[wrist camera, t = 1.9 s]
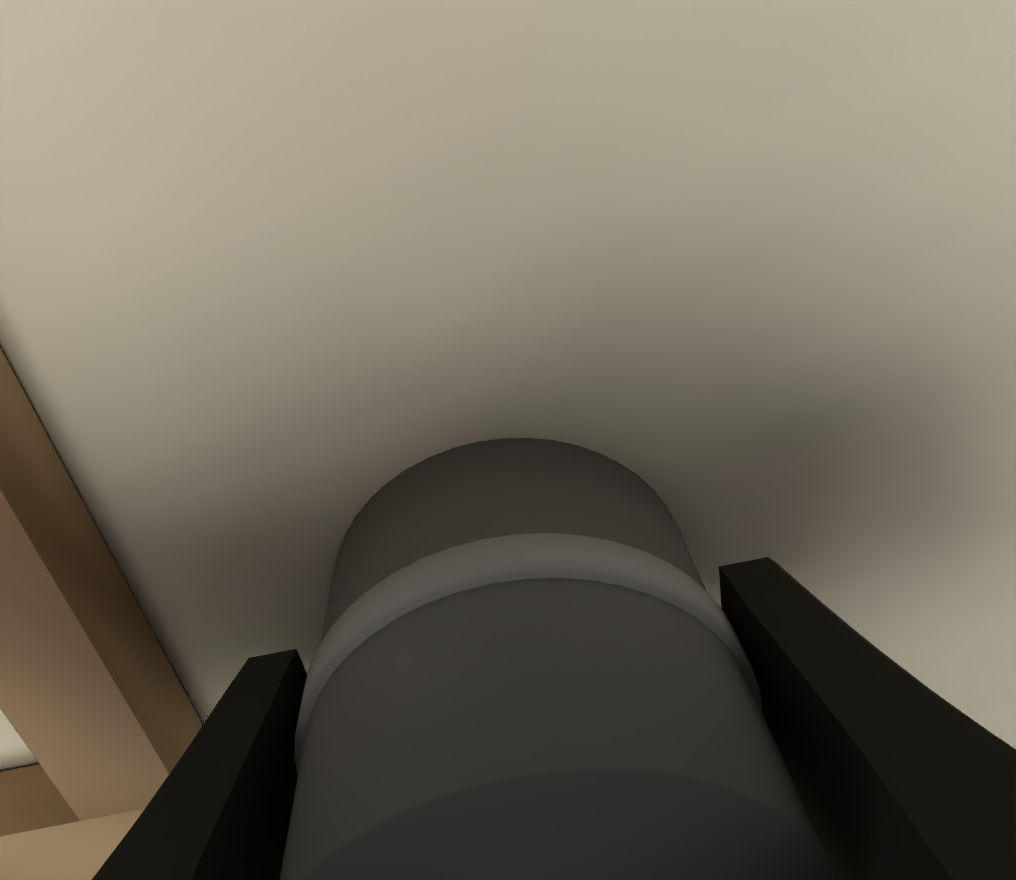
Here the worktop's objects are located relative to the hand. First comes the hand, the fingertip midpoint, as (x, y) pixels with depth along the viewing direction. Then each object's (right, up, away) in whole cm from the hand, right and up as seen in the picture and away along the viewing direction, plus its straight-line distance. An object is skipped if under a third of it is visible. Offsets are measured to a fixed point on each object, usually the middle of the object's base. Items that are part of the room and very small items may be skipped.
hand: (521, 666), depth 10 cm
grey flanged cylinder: (0, +1, +1) cm, 1 cm away
